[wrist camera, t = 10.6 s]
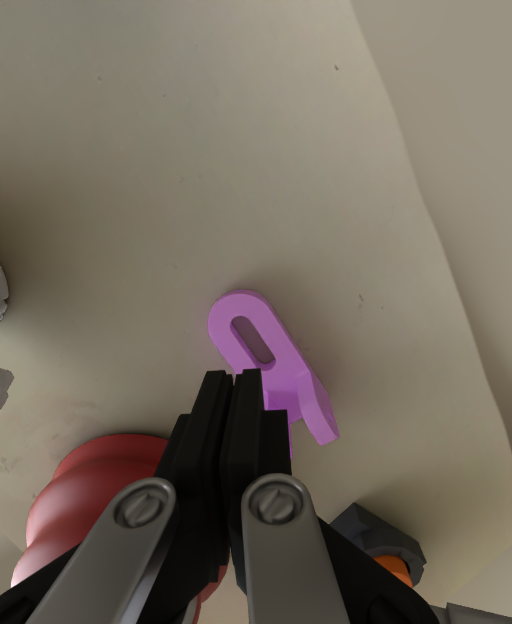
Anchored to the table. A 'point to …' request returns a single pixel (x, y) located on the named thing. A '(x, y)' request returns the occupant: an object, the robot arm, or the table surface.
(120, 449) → the table lamp
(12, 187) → the table surface
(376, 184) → the table surface
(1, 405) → the mug
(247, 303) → the bracket
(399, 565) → the button
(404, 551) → the control block
